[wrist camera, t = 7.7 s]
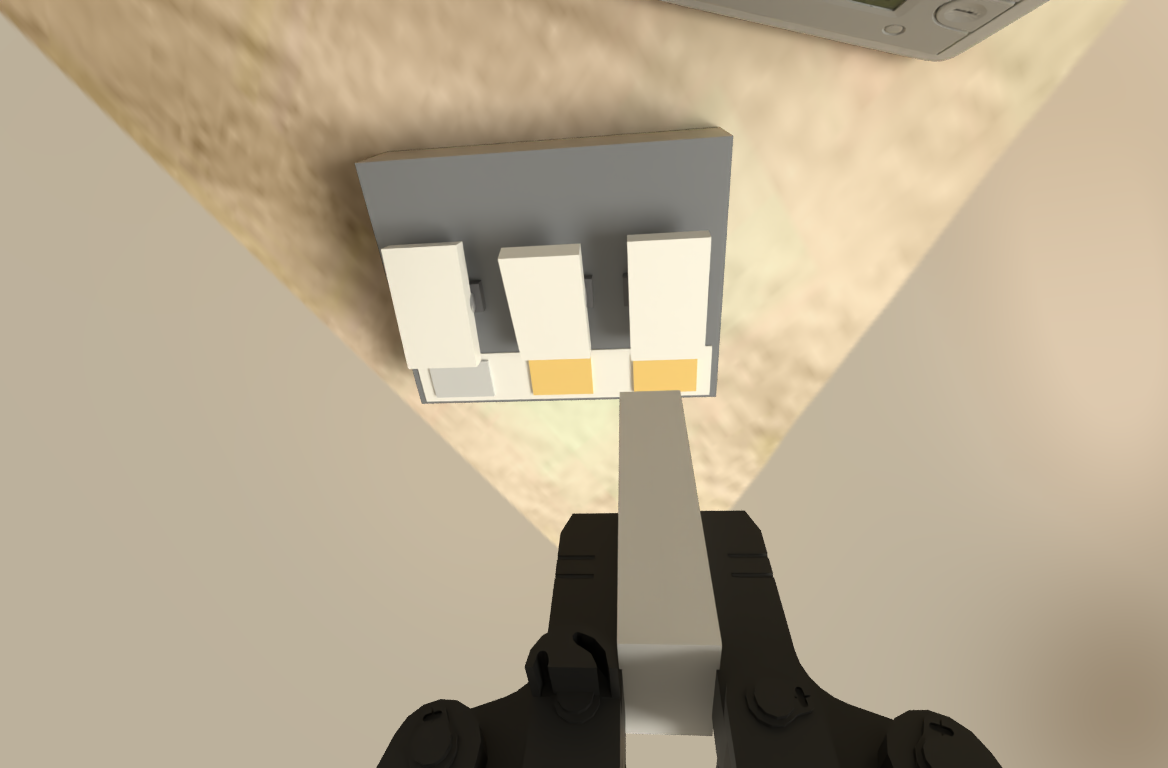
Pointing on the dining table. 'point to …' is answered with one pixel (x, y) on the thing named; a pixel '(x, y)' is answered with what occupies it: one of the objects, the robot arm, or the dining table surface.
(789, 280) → the dining table surface
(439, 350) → the switch
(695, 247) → the switch
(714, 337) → the panel
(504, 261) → the switch
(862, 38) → the digital clock
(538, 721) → the robot arm
